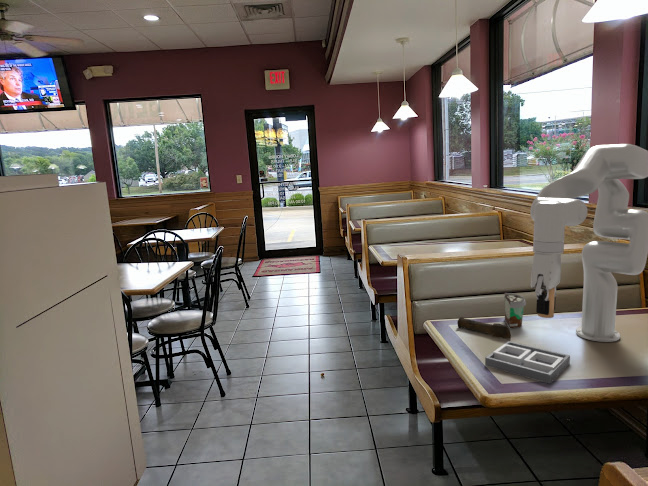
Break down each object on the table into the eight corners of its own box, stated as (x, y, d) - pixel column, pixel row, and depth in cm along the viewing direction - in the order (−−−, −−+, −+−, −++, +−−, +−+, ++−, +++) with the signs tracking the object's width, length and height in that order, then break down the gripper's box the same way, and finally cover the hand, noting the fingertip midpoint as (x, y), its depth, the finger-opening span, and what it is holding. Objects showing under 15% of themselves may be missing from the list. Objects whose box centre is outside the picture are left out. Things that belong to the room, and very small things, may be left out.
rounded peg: (540, 312, 133) (541, 285, 131) (555, 315, 130) (557, 287, 129) (535, 316, 130) (536, 288, 128) (550, 318, 127) (551, 290, 126)
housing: (508, 348, 148) (508, 339, 147) (569, 363, 135) (570, 353, 135) (485, 365, 136) (485, 355, 136) (549, 383, 124) (550, 373, 123)
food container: (528, 330, 162) (529, 302, 160) (510, 329, 163) (510, 302, 162) (521, 318, 174) (522, 292, 172) (503, 318, 175) (504, 292, 173)
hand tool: (456, 328, 167) (456, 316, 167) (462, 325, 170) (462, 313, 169) (506, 342, 153) (506, 329, 152) (512, 339, 156) (512, 326, 155)
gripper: (545, 241, 135) (542, 302, 138) (522, 250, 123) (520, 316, 126) (573, 243, 130) (570, 306, 133) (552, 253, 118) (549, 322, 121)
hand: (545, 311), depth 130 cm, fingers closed on rounded peg, 4 cm apart
